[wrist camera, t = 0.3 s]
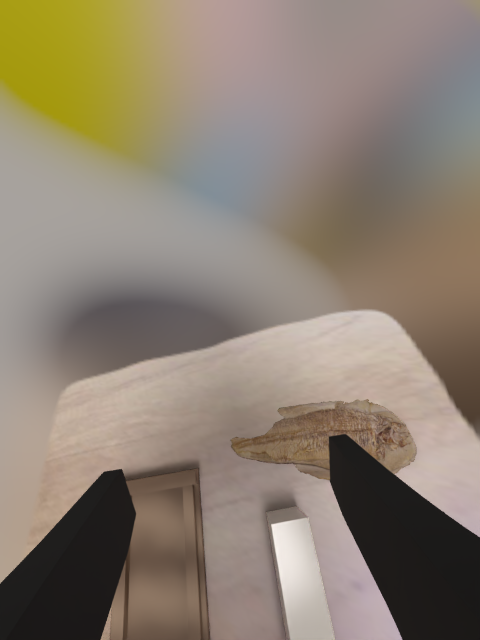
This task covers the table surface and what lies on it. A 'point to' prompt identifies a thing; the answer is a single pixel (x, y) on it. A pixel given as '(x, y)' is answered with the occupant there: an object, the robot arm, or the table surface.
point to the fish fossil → (329, 420)
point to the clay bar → (298, 576)
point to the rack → (163, 563)
